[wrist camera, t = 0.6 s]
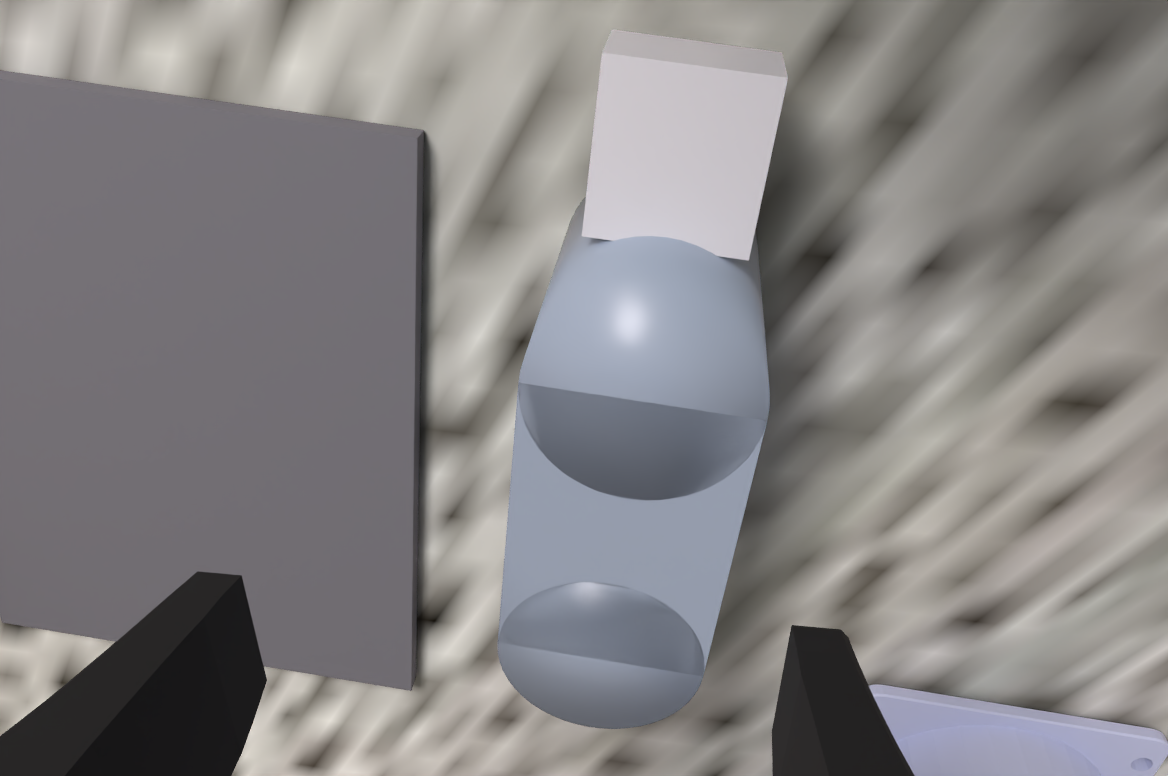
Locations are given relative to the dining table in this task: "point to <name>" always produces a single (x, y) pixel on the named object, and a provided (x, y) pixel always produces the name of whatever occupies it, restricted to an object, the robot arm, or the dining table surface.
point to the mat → (210, 368)
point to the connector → (643, 389)
